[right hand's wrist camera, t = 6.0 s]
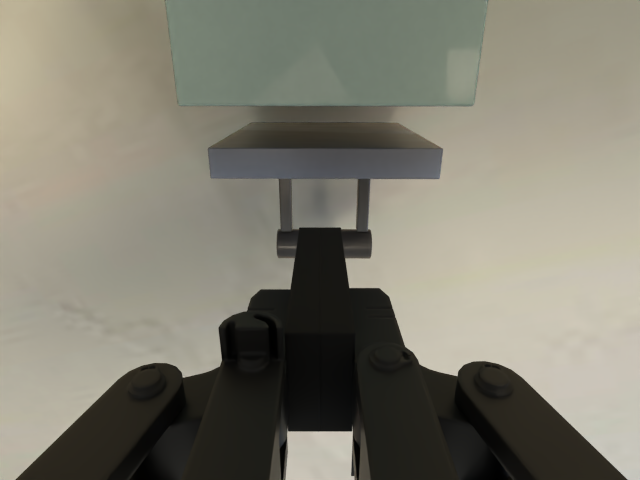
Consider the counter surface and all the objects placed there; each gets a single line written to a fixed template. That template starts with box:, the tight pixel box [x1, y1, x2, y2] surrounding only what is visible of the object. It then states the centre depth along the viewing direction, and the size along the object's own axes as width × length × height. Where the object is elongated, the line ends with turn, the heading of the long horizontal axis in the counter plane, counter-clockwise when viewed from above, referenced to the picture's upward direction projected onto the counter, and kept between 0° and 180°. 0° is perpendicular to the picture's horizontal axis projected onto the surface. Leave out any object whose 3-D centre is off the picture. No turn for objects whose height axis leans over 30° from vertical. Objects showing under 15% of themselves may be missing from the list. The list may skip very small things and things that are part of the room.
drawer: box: [208, 123, 443, 258], centre depth 18 cm, size 23×9×10 cm, turn 0°
